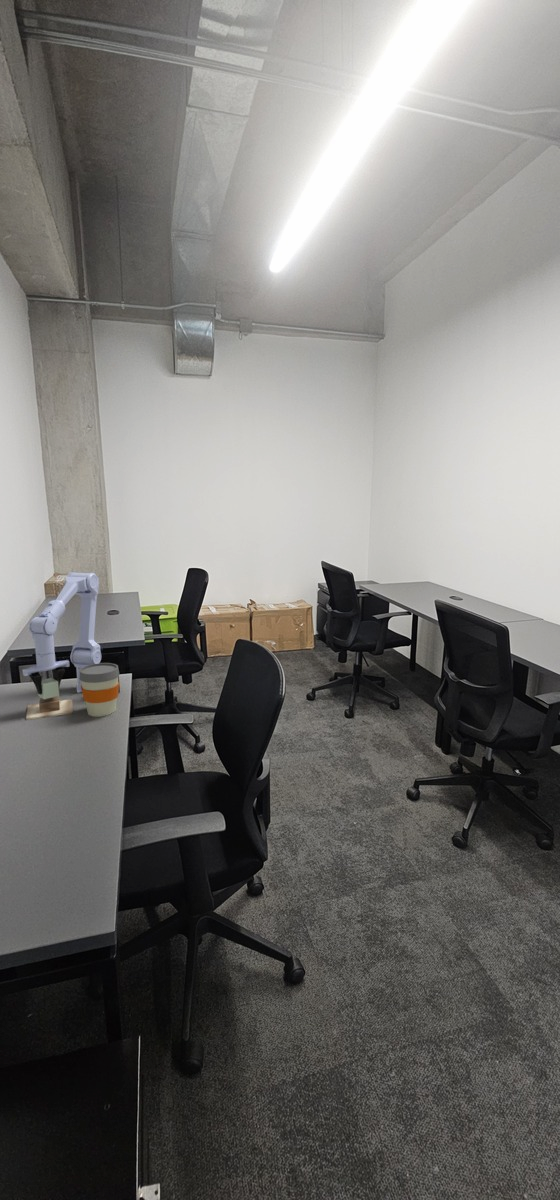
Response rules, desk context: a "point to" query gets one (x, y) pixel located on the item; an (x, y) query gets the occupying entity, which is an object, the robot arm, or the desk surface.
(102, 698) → the reusable coffee cup
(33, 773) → the desk surface
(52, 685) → the sage cube
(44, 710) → the baseplate
